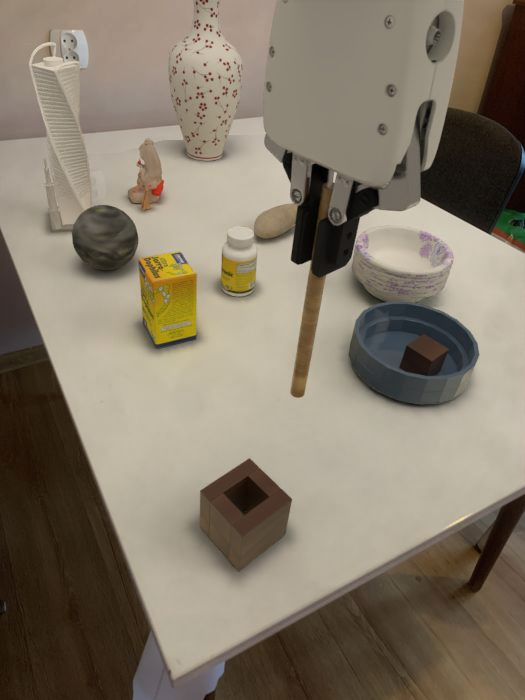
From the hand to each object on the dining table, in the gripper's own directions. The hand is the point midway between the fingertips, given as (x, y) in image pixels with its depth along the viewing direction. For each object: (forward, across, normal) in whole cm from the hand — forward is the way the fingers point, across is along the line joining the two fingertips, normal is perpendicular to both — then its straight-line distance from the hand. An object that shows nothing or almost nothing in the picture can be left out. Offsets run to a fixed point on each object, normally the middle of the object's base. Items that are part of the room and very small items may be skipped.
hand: (319, 262), depth 37 cm
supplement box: (+29, +30, -8) cm, 43 cm away
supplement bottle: (+29, +33, -23) cm, 50 cm away
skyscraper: (+29, +67, -13) cm, 74 cm away
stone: (+29, +43, -41) cm, 66 cm away
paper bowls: (+29, +18, -44) cm, 55 cm away
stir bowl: (+29, +5, -30) cm, 42 cm away
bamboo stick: (+13, 0, 0) cm, 13 cm away
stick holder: (+29, 0, +5) cm, 29 cm away
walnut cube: (+28, +3, -29) cm, 41 cm away
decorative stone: (+29, +50, -10) cm, 59 cm away
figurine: (+29, +67, -28) cm, 78 cm away
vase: (+29, +81, -53) cm, 101 cm away
